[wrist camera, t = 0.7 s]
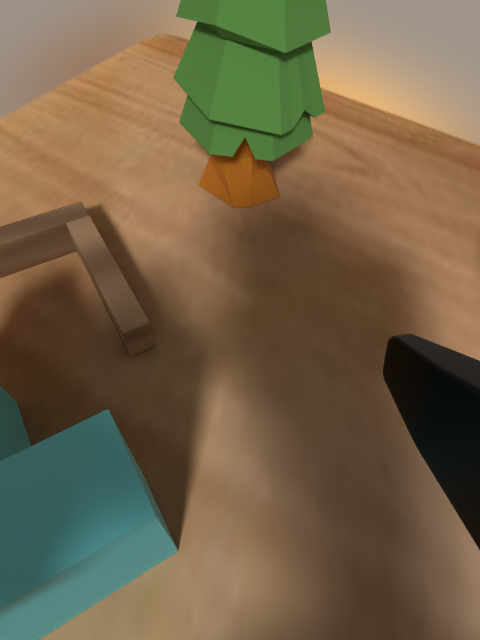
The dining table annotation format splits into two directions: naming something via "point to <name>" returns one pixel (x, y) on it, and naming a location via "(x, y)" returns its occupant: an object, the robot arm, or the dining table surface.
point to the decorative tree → (250, 88)
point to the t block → (70, 522)
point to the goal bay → (82, 236)
